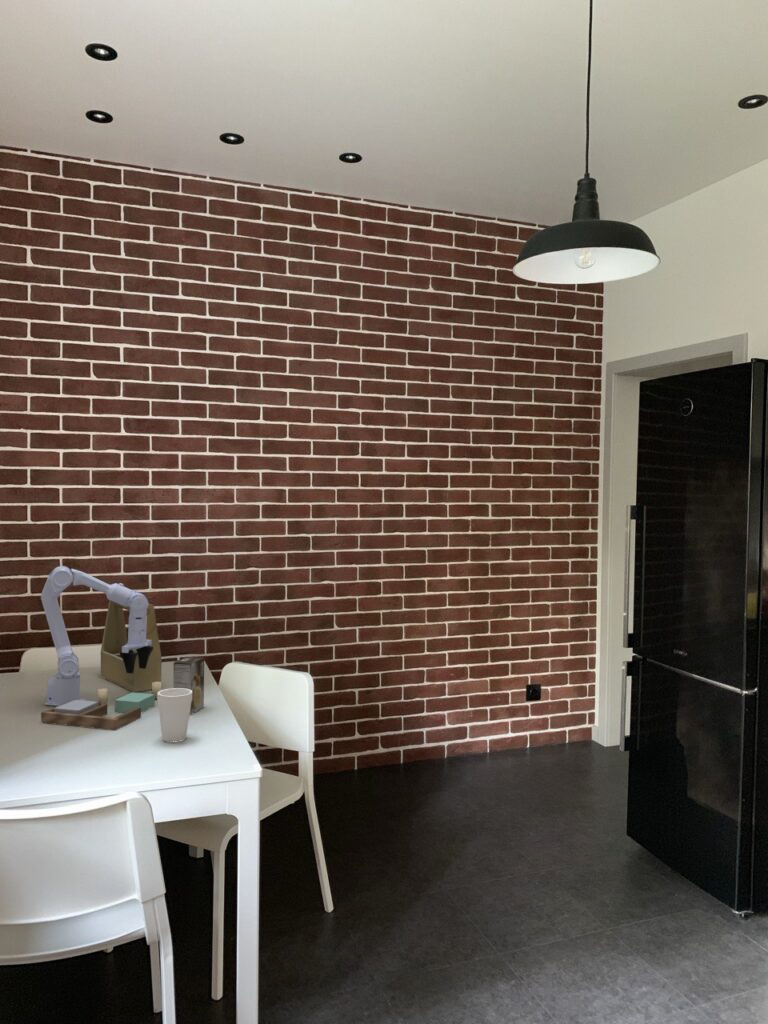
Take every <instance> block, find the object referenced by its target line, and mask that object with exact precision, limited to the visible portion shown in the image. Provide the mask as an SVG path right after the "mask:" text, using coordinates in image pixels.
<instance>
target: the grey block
mask: <svg viewBox="0 0 768 1024" xmlns="http://www.w3.org/2000/svg"><path fill="white" fill-rule="evenodd" d="M96 698H97V699H96V700H97V701H92V700H86V701H83V700H84V699H83V700H73V701H71V702H68V703H66V704H64V705H61V706H59V707H56V706H55V707H56V708H54V707H53V708H54V712H59V713H69V714H81V713H83V712H86V711H88V710H90V709H93V708H95V707H97V706H100V705H102V704H108V688H105V687H104V688H101V687H100V688H98V689H97V697H96Z"/></svg>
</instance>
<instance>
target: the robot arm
mask: <svg viewBox="0 0 768 1024" xmlns="http://www.w3.org/2000/svg"><path fill="white" fill-rule="evenodd" d="M71 584H72V586H73V587H74V586H80V585H83V586H85V587H88V588H90V589H94V590H95V591H99V593H100V592H101V593H104V594H105V595H106V599H107V600H108V601H110V600H111V601H114V602H116V603H118V604H121V605H123V606H125V607H126V606H129V607H130V610H129V616H128V631H127V634H128V635H127V640H128V643H127V644H126V645H125V646H122V651H121V652H120V655H121V657H122V659H123V661H124V664H125V668H126V672H127V673H133V672H134V665H135V660H136V657H137V655H138V660H139V668H142V669H145V668H146V666H147V662H148V659H149V656H150V654H151V652H152V650H153V647H151V646H150V645H151V640H149V639H146V629H147V616H146V613H147V610H146V609H147V608H148V605H149V604H150V603H149V601H148V600H149V599H147V597H146V595H144V594H143V593H141V592H138V591H137V590H136V589H133V590H132V589H130V588H129V587H126V586H124V583H121V582H119V583H117V582H116V583H112V584H110V583H106V582H105V581H103V580H100V579H98V578H96V577H94V576H92V575H90V574H88V573H87V572H84V571H81V570H78V569H74V568H71V569H70V568H69V567H68V566H66V565H60V566H56V567H55V568H54V569H52V571H51V572H50V573H49V574H48V576H47V579H46V581H45V584H44V587H43V589H42V591H41V594H40V600H41V603H42V608H43V610H44V612H45V616H46V617H45V618H46V621H47V624H48V628H49V631H50V635H51V637H52V638H51V639H52V641H53V645H54V648H55V653H56V657H57V671H58V672H57V673H56V674H54V675H51V676H50V677H49V678H48V681H47V684H46V702H45V704H44V705H46V706H54V707H56V706H59V705H61V704H64V703H66V702H69V701H73V700H83V701H87V700H86V699H84V698H83V699H81V698H80V697H81V696H80V695H81V673H80V672H79V671H80V664H79V657H78V656H77V655H76V654H75V653H74V651H73V647H72V644H71V642H70V639H69V636H68V635H69V634H68V631H67V629H66V625H65V621H64V618H63V614H62V611H61V608H60V607H61V606H60V604H59V601H58V599H59V597H60V595H61V594H62V592H63V591H64V590H66V588H68V587H69V586H70V585H71ZM133 650H137V653H134V652H133Z"/></svg>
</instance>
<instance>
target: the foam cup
mask: <svg viewBox="0 0 768 1024" xmlns="http://www.w3.org/2000/svg"><path fill="white" fill-rule="evenodd" d="M156 700H157V703H158V712H159V713H158V714H159V720H160V721H159V722H160V730H161V731H160V732H161V738H162V739H163V740H164V741H168V742H167V743H176V742H175V741H180V740H184V739H185V738H186V739H187V735H188V725H189V720H190V708H191V701H192V690H190V689H185V688H173V687H172V688H165V689H161V691H159V692H158V695H157V699H156ZM186 739H185V740H186ZM163 740H162V741H163ZM185 740H184V741H185ZM164 741H163V742H164ZM173 741H174V742H173ZM180 742H181V741H180Z"/></svg>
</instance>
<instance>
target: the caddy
mask: <svg viewBox="0 0 768 1024" xmlns="http://www.w3.org/2000/svg"><path fill="white" fill-rule="evenodd" d="M108 601H109V602H108V608H107V613H106V618H105V624H104V630H103V636H102V642H101V647H100V677H101V676H102V677H104V678H105V679H104V678H103V679H104V680H106V679H107V680H106V681H108V680H109V681H108V682H110V681H111V682H110V683H112V682H114V683H113V684H115V683H116V684H115V685H117V686H119V687H121V686H122V687H121V688H123V687H124V688H123V689H126V690H128V691H130V692H131V693H132V692H134V693H140V692H145V690H146V691H152V690H151V689H152V682H161V683H162V668H163V667H162V664H163V663H162V661H163V660H162V651H161V646H160V640H159V639H160V638H159V633H158V623H157V618H156V612H155V606H154V605H153V604H151V603H149V605H148V608H147V609H146V610H147V613H146V616H147V629H146V639H149V640H151V645H150V646H151V647H153V650H152V652H151V654H150V656H149V659H148V662H147V666H146V668H145V669H142V668H139V660H138V655H137V657H136V660H135V665H134V672H133V673H127V672H126V668H125V664H124V661H123V659H122V657H121V655H120V652H121V651H122V646H125V645H126V644H127V643H128V635H127V634H128V632H127V629H126V622H125V621H126V620H125V616H124V615H125V614H124V610H126V611H130V607H129V606H126V607H125V606H123V605H121V604H118V603H116V602H114V601H111V600H108ZM133 652H134V653H137V650H133ZM102 677H101V678H102ZM139 691H140V692H139Z"/></svg>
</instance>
